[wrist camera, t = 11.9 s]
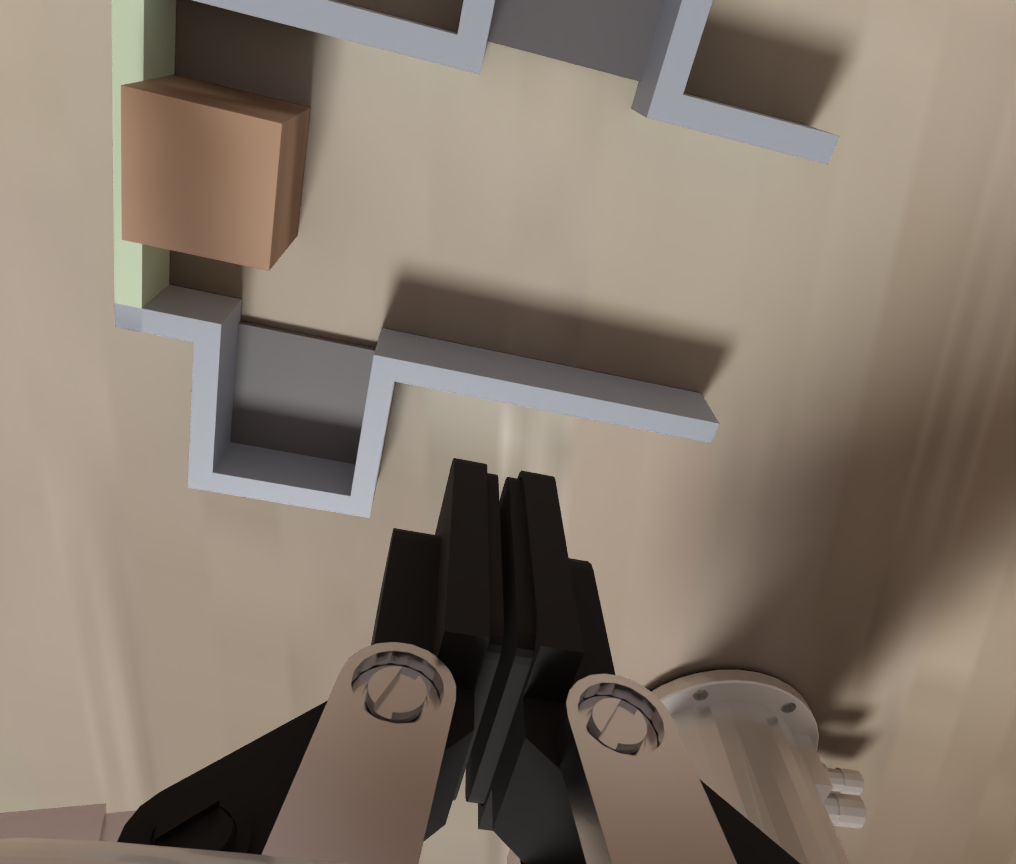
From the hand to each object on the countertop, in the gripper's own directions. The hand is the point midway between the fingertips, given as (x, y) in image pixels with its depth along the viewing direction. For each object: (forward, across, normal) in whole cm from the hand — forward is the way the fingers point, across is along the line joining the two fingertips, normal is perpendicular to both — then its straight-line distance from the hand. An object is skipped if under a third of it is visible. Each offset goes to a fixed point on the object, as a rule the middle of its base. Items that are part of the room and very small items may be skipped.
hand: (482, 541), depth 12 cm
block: (+21, +10, -1) cm, 24 cm away
